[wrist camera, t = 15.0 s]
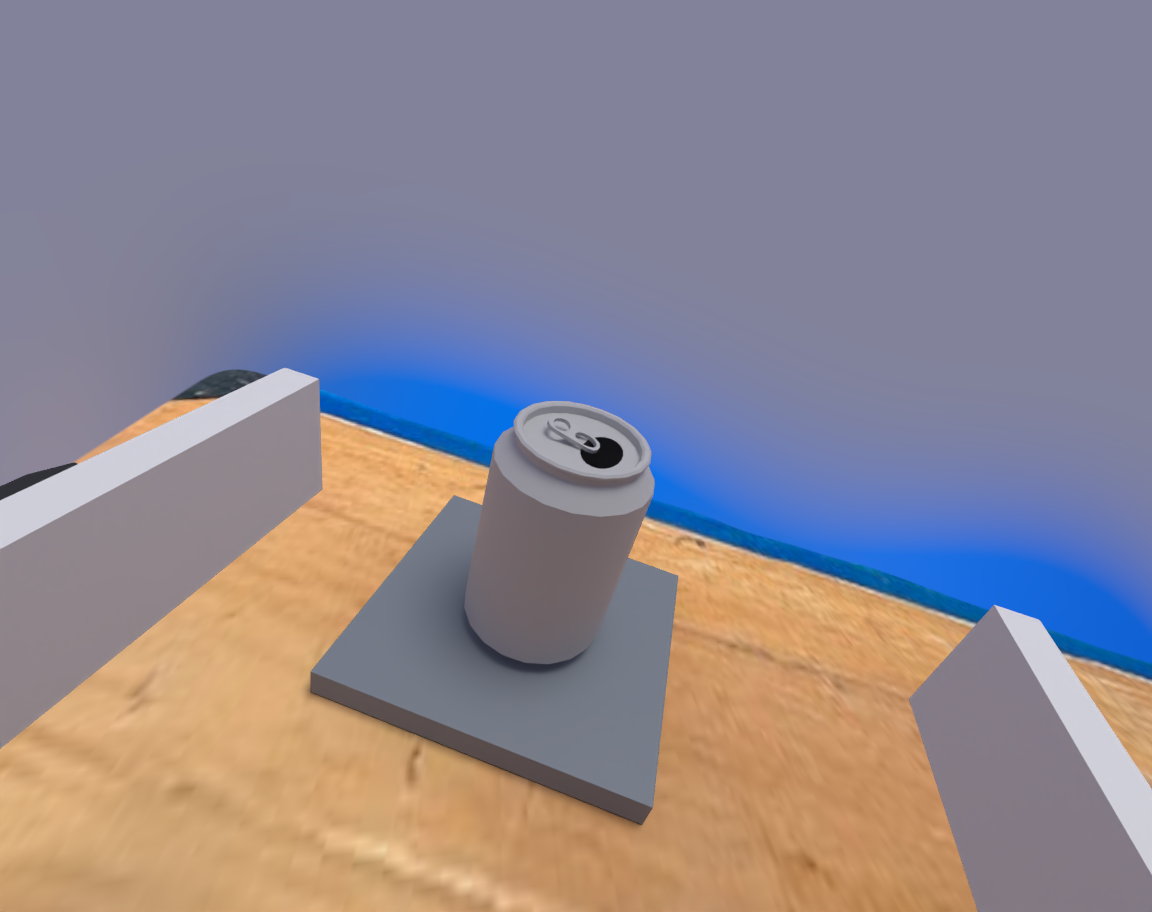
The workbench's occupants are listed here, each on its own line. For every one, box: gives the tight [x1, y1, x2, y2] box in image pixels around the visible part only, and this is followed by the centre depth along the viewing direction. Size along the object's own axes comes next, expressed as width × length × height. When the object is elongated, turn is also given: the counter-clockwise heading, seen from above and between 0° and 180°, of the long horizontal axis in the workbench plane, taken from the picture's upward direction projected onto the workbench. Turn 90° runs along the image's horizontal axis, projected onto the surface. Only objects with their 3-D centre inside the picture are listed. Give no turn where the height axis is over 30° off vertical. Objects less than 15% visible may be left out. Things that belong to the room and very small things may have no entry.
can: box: [464, 401, 655, 664], centre depth 27 cm, size 8×8×12 cm
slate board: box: [311, 495, 678, 825], centre depth 30 cm, size 16×15×2 cm
